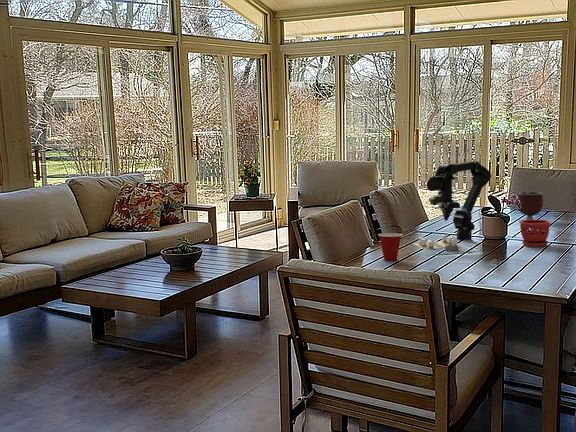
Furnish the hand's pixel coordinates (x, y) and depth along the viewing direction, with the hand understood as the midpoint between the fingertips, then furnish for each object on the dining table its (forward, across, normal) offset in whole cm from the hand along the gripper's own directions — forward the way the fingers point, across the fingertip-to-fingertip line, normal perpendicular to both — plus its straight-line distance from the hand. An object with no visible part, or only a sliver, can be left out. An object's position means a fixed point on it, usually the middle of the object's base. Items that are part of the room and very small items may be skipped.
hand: (446, 220), depth 318 cm
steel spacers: (+11, +6, -7) cm, 14 cm away
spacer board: (+12, +5, -7) cm, 15 cm away
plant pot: (+12, +17, +38) cm, 43 cm away
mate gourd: (+12, -44, +73) cm, 86 cm away
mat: (+12, +18, -7) cm, 23 cm away
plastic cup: (+12, +24, -38) cm, 47 cm away
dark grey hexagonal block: (+12, +19, -6) cm, 23 cm away
